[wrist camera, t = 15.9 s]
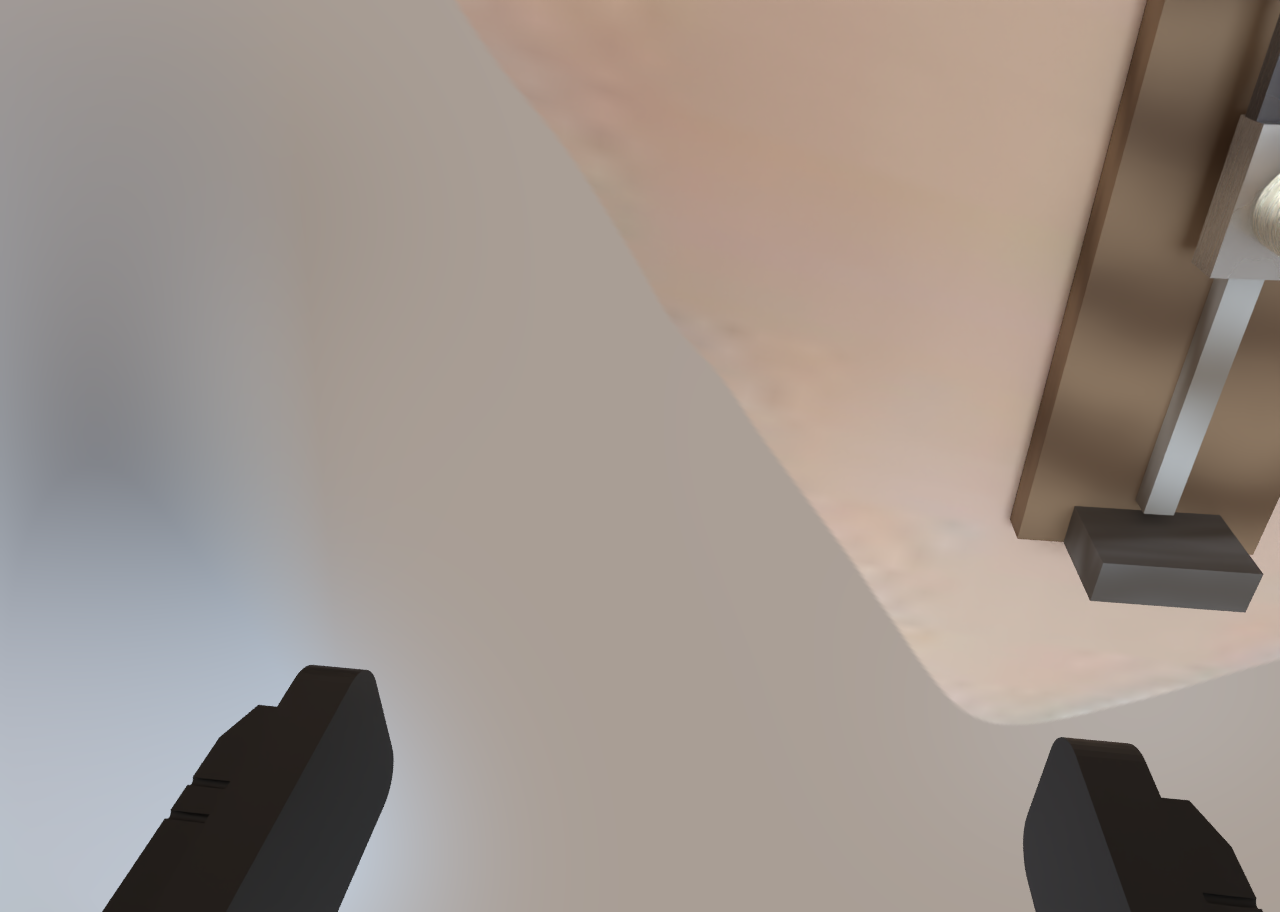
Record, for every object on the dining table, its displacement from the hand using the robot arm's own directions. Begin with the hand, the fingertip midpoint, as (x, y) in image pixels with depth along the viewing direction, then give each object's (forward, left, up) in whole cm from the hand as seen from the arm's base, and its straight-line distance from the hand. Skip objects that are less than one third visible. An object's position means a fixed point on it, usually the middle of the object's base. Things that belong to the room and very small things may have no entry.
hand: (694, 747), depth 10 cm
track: (+5, +18, -28) cm, 34 cm away
